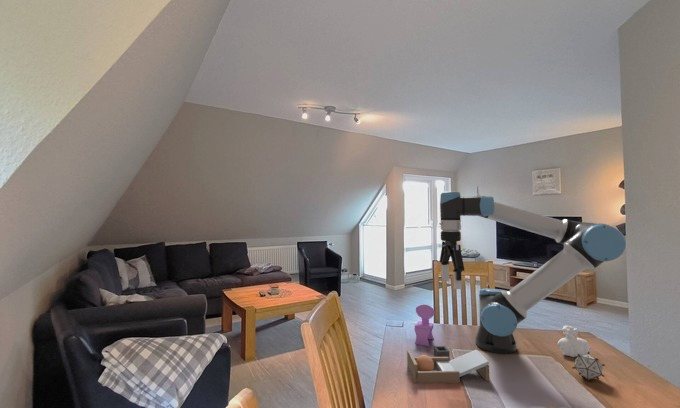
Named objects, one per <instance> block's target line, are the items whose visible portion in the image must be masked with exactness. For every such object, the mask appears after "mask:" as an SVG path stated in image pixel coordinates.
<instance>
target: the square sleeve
mask: <svg viewBox="0 0 680 408" xmlns="http://www.w3.org/2000/svg"><path fill="white" fill-rule="evenodd" d="M433 355H434V356H435V357H449V358H450V350H449V349H448V348H447V346H446V345H445V346H444V345H442V346H441V345H437V346H435V345H434V346H433Z"/></svg>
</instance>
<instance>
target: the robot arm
mask: <svg viewBox="0 0 680 408" xmlns="http://www.w3.org/2000/svg"><path fill="white" fill-rule="evenodd" d="M439 211H440V213H439V214H440V216H439V217H440V222H439V225H440V230H441V231H440V240H441V250H440V256H439V257H440V258H439V263H440V264H441V281H442V282H450V259H451V261H452V266H453V270H452V271H453V290H462V289H463V275H462V274H463V272H464V271H465V266H464V264H465V263H464V261H463V255H462V249H461V244H457V242H459V241H460V242H461V240H462V235H461V234H462V233H461V230H462V224H461V223H462V220H461V216H463V217H465V216H467V217H468V216H470V217H471V216H472V217H473V216H474V217H476V216H478V217H481V218H484V219H488V220H491V221H495V222H497V223H501V224H505V225H507V226H510V227H514V228H517V229H521V230H524V231H526V232H530V233H534V234H537V235H541V236H543V237H547V238H550V239H553V240H554V241H555V242H556V243H558V244H561V245H563V249H562V250H560V251H559V252H558V253H557V254H556V255H554V256H553V257H551V258H550V259H549V260H548V261H546V262H545V263H544V264H543V265H541V266H540V267H538V268H537V269H535V270H534V271H533V272H532V273H530V274H529V275H528V276H526V277H525V278H524V279H523V280H521V281H520V282H519V283H517V284H516V285H515V286H513V287H512V288H510V289H509V290H505V289H498V288H480V290H479V291H478V298H479V301H478V302H479V304H478V305H479V326H478V330H477V332H476V335H475V345H477V346H478V347H479V348H480V349H482V350H484V351H487V352H491V353H497V354H512V353H514V352H516V351H517V341H516V339H515V336H514V334H513V333H514V332H516V330H517V328H518V324H520V323H521V322H522V321H524V320H525V319H526V318H527V315H528V314H527V313H528V312H529V310H530V309H532V308H533V307H535V306H536V305H537V304H539V303H540V302H542V301H543V300H544V299H546V298H547V297H549V296H550V295H552V293H554V292H556V291H557V290H558V289H560V288H561V287H563V286H564V285H565V284H566V283H568V282H569V281H570V280H572V279H573V278H575V277H576V276H577V275H579V274H580V273H582V272H583V271H584V270H587V269H588V270H595V269H596V268H598V267H599V266H600V265H602V264H603V263H604V262H610V261H614V260H616V259H619V258H620V257H621V256H623V254H624V252H625V250H626V246H627V245H626V239H625V236H624V235H623V233H622V232H621V231H619V229H618V228H616V227H614V226H611V225H609V224H606V223H594V222H585V221H584V222H583V221H578V220H577V221H575V220H571V219H566V218H563V219H562V220H561V219H558V218H553V217H551V216H546V215H545V214H544V215H543V214H540V213H537V212H536V213H535V212H532V211H528V210H525V209H521V208H518V207H514V206H511V205H508V204H503V203H500V202H496V201H495V199H494V197H493V196H492V195H479V196H478V195H476V196H461V193H460V191H443V192H441V194H440V202H439Z"/></svg>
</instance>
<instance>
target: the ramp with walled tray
mask: <svg viewBox="0 0 680 408" xmlns="http://www.w3.org/2000/svg"><path fill="white" fill-rule="evenodd" d="M406 353H407V354H406V355H407V357H406V359H407V361H406V362H407V369H408V372H409V373H410V375H411V379H412V380H413V383H414V384H436V383H437V384H445V383H446V384H448V383H449V384H451V383H452V384H453V383H454V384H455V383H457V384H458V383H461V382H460V381H461V379H460V377H462V376H463V377H464V376H465V375H468V374H470V373H472V372H475V371H477V372H478V374H479V375H480V377H482V378H483V379H484V380H485V381H491V380H490V378H491V377H490V362H489V360H487V358H486V357H485V356H484V355H483V354H481V352H480V351H479V350H478V349H474V350H472V351H469V352H467V353H465V354H462V355H459V356H456V357H455V358H453V359H451V360H450V356H449V357H436V356H429V357H430V358H431V359H432V360H433V363H434V368H433V371H418V364H417V362H416V360H417V358H418V357H419V356H414V355H413V353H412V351H411V350H410V349H407V350H406Z"/></svg>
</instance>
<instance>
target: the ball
mask: <svg viewBox="0 0 680 408" xmlns="http://www.w3.org/2000/svg"><path fill="white" fill-rule="evenodd" d="M417 357H418V358H417V360H416V362H417V364H418V371H433V368H434V363H433V360H432V359H431V358H430V357H431V356H429V355H427V354H420V355H419V356H417Z"/></svg>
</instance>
